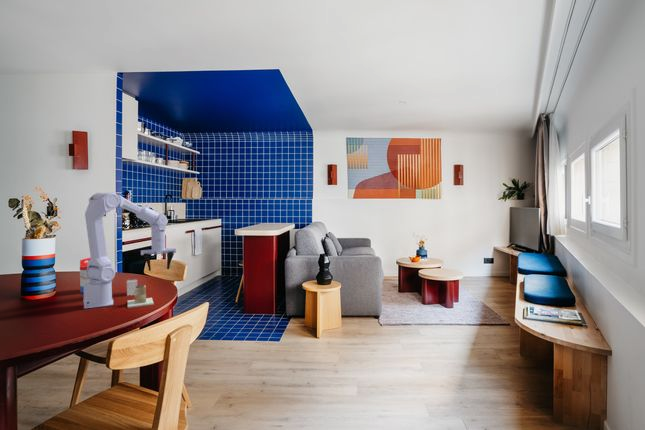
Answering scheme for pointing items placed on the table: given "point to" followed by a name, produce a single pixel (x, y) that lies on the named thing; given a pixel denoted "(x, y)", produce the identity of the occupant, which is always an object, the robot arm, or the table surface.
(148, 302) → the sage pad
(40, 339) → the table surface
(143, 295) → the labelled block
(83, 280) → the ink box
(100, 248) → the robot arm
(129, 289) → the grey block
